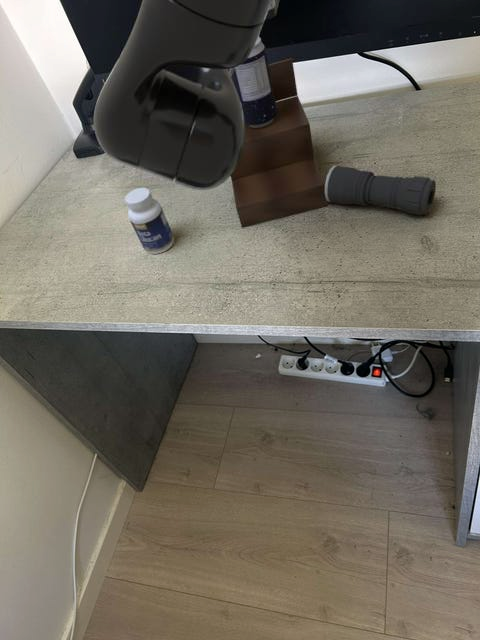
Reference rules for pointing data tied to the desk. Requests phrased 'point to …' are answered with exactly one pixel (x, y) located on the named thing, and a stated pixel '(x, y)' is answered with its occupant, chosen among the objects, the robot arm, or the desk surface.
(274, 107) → the beverage can
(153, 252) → the pill bottle
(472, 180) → the desk surface
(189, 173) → the robot arm
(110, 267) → the desk surface
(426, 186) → the flashlight
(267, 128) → the wooden stair steps
